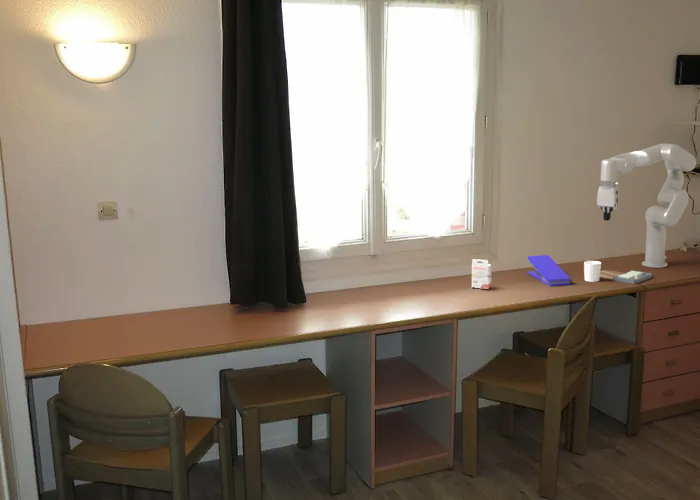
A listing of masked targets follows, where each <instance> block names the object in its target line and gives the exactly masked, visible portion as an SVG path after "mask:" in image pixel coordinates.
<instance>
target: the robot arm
mask: <svg viewBox="0 0 700 500" xmlns="http://www.w3.org/2000/svg"><path fill="white" fill-rule="evenodd" d="M661 161H664V166H665V169H666V174H667V176H666V180H665V181H664V183H663V185H662V187H661V188H660V191H659V193H658V194H657V195H658V196H657V198H656V199H657V202H658V204H660V205H652V206H650V207H648V208H647V209H646V211H645V217H644V218H645V223H646V235H645V236H646V237H645V238H646V239H645V240H646V241H645V255H644V257H645V258H644V261H642V262H641V265H642V266H644V267H647V268H653V269H655V268H658V269H659V268H661V269H662V268H665V267H666V268H667V267H668V263H667V261H666V262H665V260H666V259H667V256H666V241H667V229H666V227H670V228H671V227H674V226H676V224H678V222H679V221H680V219H681V217H682V215H683V214H684V212H685V210H686V208H687V205H688V204H689V199H690V198H689V194H688V192H687V191H686V190H684V189H682V187H683V185H684V184H685V183H684V182H685V177H684V172H691V171H693V170H694V169H695V167H696V166H697V159H696V157H695V156H694V155H693V154H691V153H690V152H688V150H686V149H684V148H683V147H681V146H679V145H677V144H675V143H659V144H655V145H651V146H650V147H646V148H644V149H639V150H634V151H629V152H625V153H621V154H617V155H615V156H611V157H610V158H606V159H602V160H601V164H600V182H599V183H600V186H598V190H597V196H596V205H597V206H596V208H597V209H600V210H601V211H602V214H603V216H602V217H603V221H606V222H607V221H610V220H611V216H612V215H611V213H612V212H613V211H614V210H618V209H619V206H620V193H619V187H618V186H619V182H618V181H617V175H618V174H629V173H630V172H632V170H634V168H635V167H638V168H639V167H647V166H651V165H653V164H656V163H660V162H661ZM661 205H662V206H661Z"/></svg>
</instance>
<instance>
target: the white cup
mask: <svg viewBox="0 0 700 500" xmlns="http://www.w3.org/2000/svg"><path fill="white" fill-rule="evenodd" d="M601 268H602V261H599V260H586V261H584V262H583V273H584V274H583V276H584V281H585V282H590V283H595V282H599V281H600V279H601V278H600V271H602V270H601Z"/></svg>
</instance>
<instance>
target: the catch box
mask: <svg viewBox="0 0 700 500" xmlns="http://www.w3.org/2000/svg"><path fill="white" fill-rule="evenodd" d="M631 271H634V269H633V270H632V269H630V270H629V272H631ZM635 271H636V272H642V273H643V277H640V278H638V279H635V280H633V279H627V278H622V277H616V276H613V280H612V281H615V282H621V283H626V284H634V285H636V284H639V283H642V282H644V281H647V280H649V279H651V278H653V275H654V273H651V272H645V271H639V270H635Z"/></svg>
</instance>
